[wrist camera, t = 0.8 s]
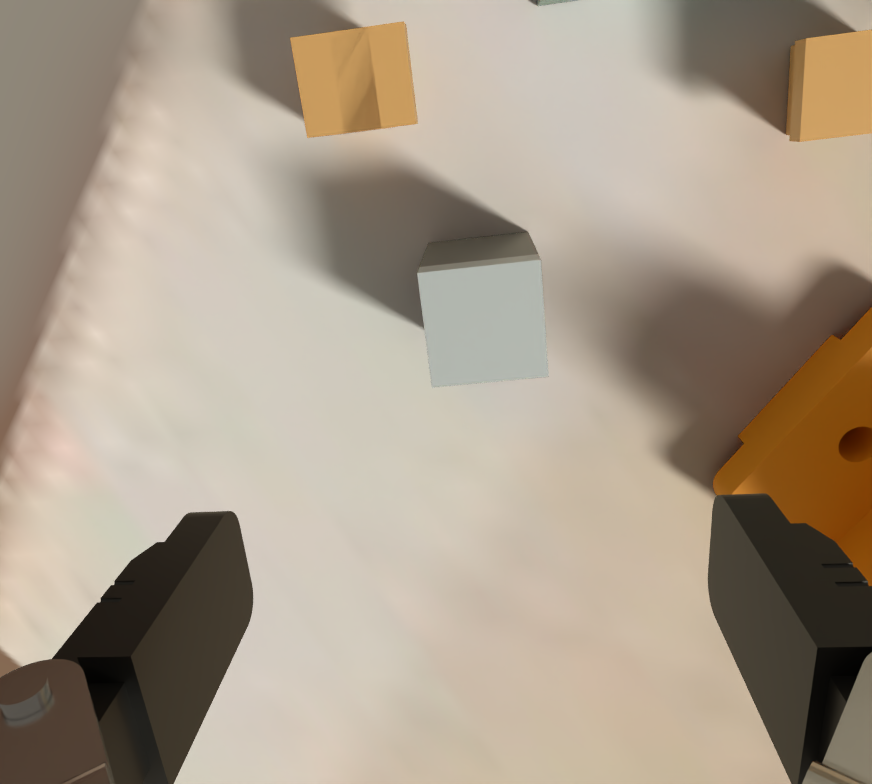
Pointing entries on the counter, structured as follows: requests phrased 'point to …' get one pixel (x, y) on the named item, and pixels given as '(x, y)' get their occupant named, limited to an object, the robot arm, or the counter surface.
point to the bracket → (817, 446)
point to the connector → (483, 310)
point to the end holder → (551, 2)
